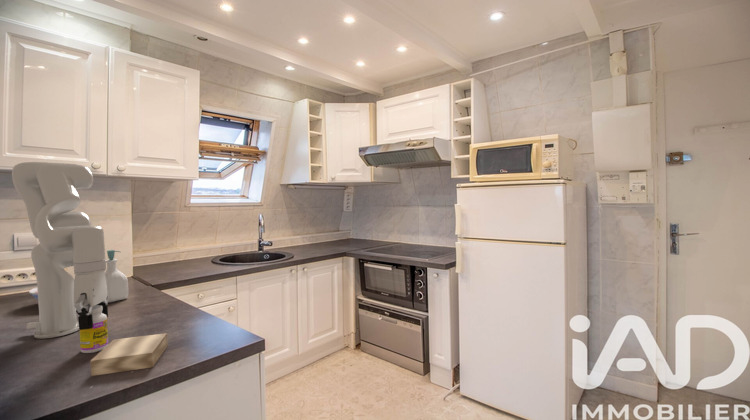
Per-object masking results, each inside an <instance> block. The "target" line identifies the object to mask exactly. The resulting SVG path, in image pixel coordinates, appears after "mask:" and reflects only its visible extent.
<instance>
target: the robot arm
mask: <svg viewBox="0 0 750 420" xmlns="http://www.w3.org/2000/svg"><path fill="white" fill-rule="evenodd" d="M11 179H12V184H13V186H14V188H15V190H16V193H18V196H20V198H21V200H22V201H23V203H24V206H25V208H26V212H27V216H28V220H29V225H30V228H31V232H32V235H33V236H34V237H35V238H36V239H37V240H38V242H39V244H37V245H35V246H33V248H32V249H31V251H30V253H31V254H30V257H31V261H32V265H33V269H34V272H35V277H36V288H37V290H38V300H37V301H38V302H37V305H38V316H39V317H38V318H39V321H36V322H35V321H34V322H33V321H32V322H28V323H26V330H27V331H31V330H35V332H34V333H33V336H34V338H36V339H53V338H58V337H62V336H65V335H70V334H73V333H75V332H77V331H80V330H84V329H91V328H93V318H92V314H91V310H92V307H93V306H96V305H101V306H102V307H103V310H102V313H103V314H105V315H106V316H107V318H109V307H108V305H109V304H108V301H107V298H108V296H107V293H108V289H107V283H106V277H105V272H106V271H107V263H106V260H107V259H106V248H105V234H104V229H103V227H102V226H99V225H92V222H91V219H90V217H89V216H88V215H87V214H86V213H85V212H83V211H76V210H75V209H77V208H78V207H79V206H80V205H81V202H82V200H81V197H80V195H79V192H78V190H88V189H90V188H92V186H93V184H94V176H93V173H92V171H91V170H90V169H89V167H87V166H85V165H81V164H75V163H65V162H64V163H61V162H48V161H47V162H44V161H43V162H42V161H26V162H21V163H17V164H15V165H14V166H13V167H12V170H11ZM74 210H75V211H74ZM71 267H73V272H74V276H73V275H71V273H69V272H67V271H66V270H65V268H71ZM85 308H88V309H87V310H86V309H85Z"/></svg>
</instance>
